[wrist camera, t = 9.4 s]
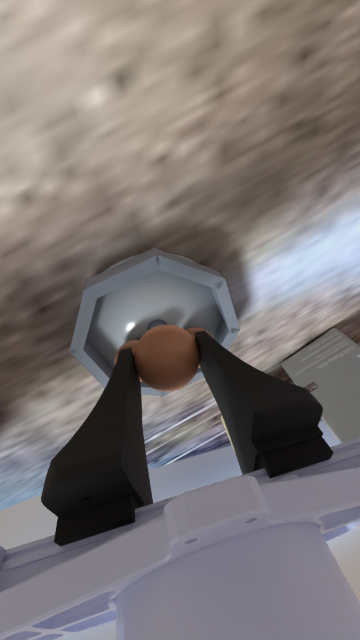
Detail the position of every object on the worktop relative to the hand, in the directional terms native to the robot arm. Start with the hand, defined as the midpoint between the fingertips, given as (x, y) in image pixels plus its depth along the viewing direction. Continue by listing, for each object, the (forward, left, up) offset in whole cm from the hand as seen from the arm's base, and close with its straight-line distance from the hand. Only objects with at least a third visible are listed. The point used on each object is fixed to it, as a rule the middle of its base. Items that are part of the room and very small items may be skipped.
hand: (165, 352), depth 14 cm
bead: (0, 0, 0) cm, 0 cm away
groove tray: (-3, -2, -8) cm, 9 cm away
